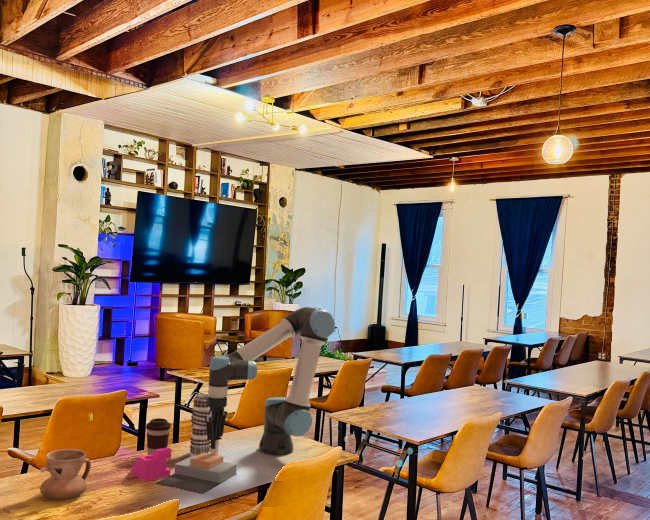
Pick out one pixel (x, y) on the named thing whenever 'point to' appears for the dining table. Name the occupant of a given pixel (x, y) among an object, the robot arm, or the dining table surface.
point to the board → (206, 471)
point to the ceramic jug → (65, 474)
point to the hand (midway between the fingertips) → (213, 456)
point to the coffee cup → (157, 434)
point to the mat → (188, 483)
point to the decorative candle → (199, 426)
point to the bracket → (153, 465)
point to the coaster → (206, 460)
